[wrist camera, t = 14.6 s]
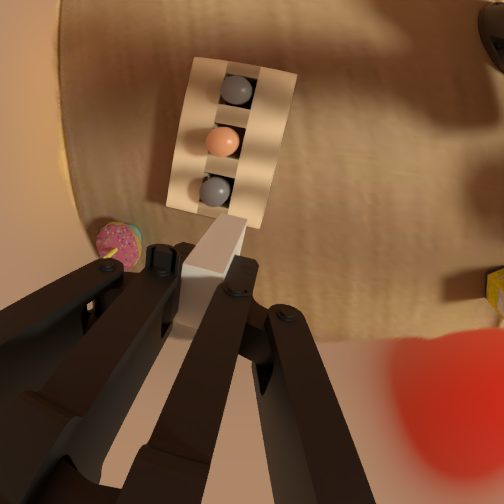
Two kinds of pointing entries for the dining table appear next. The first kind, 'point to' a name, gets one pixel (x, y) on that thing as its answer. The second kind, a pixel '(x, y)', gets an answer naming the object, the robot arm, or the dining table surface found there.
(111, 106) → the dining table surface
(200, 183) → the panel
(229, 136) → the terracotta plug
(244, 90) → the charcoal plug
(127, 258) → the cupcake
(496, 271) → the supplement box
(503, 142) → the dining table surface
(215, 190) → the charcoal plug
